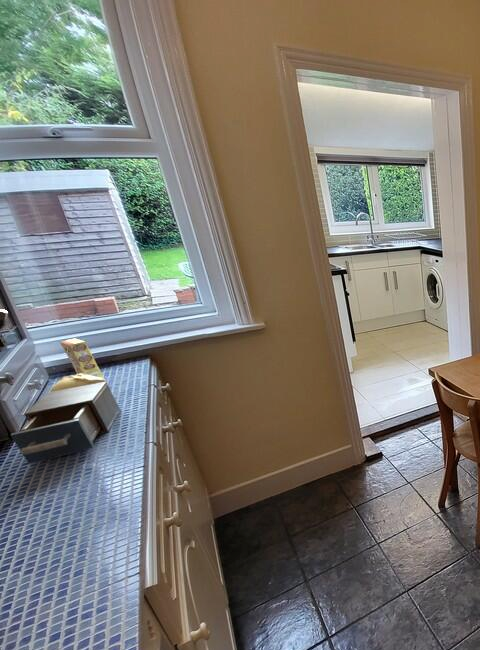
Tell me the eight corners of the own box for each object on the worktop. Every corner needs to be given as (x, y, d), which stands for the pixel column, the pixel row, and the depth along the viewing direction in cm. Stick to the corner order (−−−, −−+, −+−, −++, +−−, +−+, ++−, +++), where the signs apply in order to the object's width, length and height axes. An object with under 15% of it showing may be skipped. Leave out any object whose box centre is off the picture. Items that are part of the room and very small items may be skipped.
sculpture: (123, 400, 128) (107, 368, 124) (80, 419, 118) (62, 385, 113) (94, 398, 130) (77, 367, 126) (49, 417, 120) (29, 383, 115)
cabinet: (108, 431, 110) (91, 400, 106) (44, 446, 104) (23, 414, 100) (120, 410, 122) (106, 381, 118) (63, 423, 116) (45, 393, 112)
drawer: (87, 457, 97) (71, 429, 94) (20, 474, 92) (0, 445, 89) (106, 425, 112) (93, 399, 108) (49, 438, 106) (33, 412, 103)
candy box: (107, 382, 142) (86, 340, 136) (91, 387, 139) (69, 344, 133) (96, 378, 146) (75, 337, 140) (81, 383, 143) (58, 341, 137)
